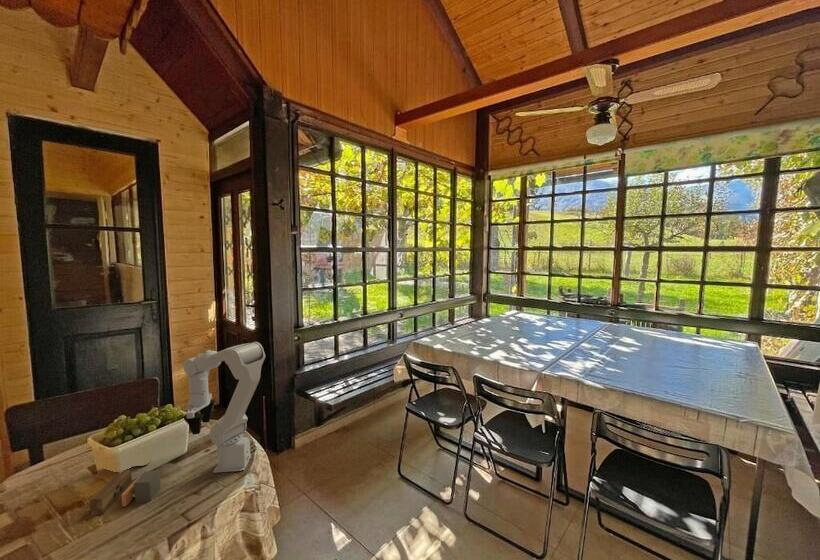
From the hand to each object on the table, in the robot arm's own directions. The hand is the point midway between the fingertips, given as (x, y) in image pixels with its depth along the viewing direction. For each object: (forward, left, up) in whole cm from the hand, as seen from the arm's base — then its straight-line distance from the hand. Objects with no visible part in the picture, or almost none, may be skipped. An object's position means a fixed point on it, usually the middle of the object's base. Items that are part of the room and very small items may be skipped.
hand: (201, 427), depth 122 cm
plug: (+7, +20, -10) cm, 23 cm away
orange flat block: (+11, +20, -9) cm, 24 cm away
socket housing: (+16, +20, -9) cm, 27 cm away
